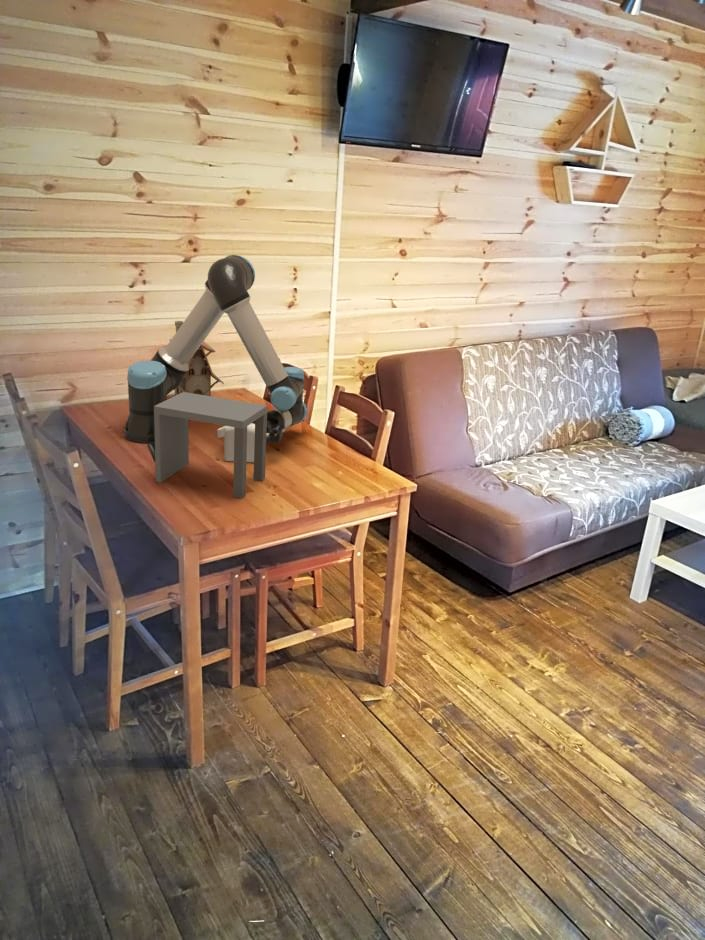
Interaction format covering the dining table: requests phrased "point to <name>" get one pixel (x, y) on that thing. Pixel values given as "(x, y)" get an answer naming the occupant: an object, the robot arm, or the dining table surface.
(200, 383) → the miniature house
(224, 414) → the low shelf
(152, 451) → the phone
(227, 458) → the photo printer
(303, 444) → the dining table surface
